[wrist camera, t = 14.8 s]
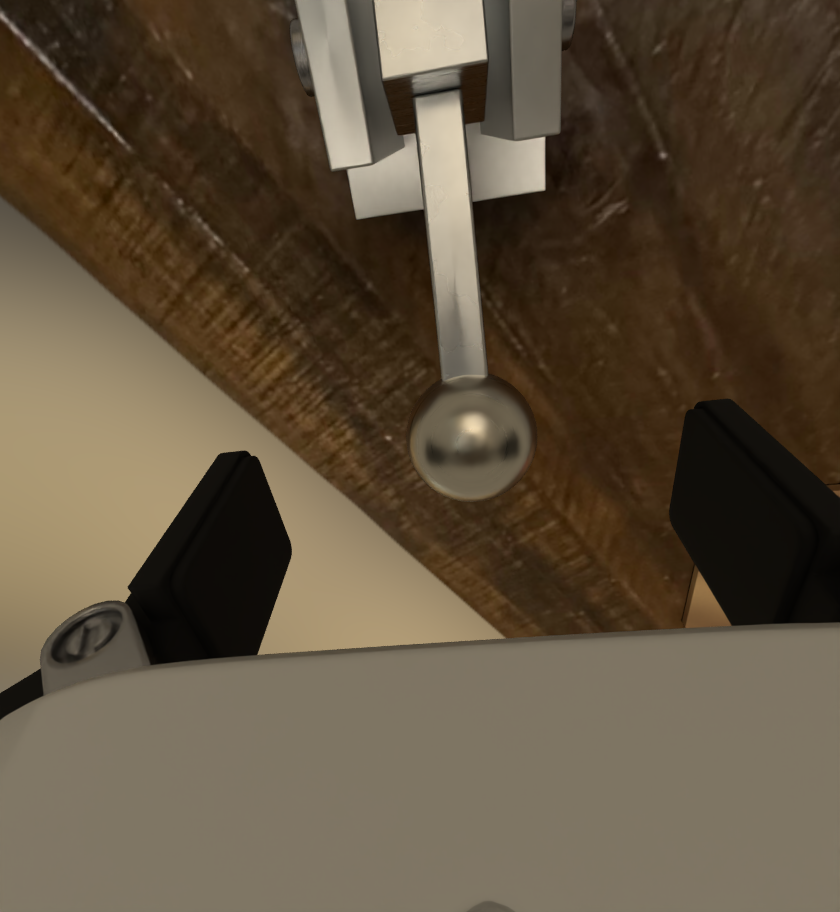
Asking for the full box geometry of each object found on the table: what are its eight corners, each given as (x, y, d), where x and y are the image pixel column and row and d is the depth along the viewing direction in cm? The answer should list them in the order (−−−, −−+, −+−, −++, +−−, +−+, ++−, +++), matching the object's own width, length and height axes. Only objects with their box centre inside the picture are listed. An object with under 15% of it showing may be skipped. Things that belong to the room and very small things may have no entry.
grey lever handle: (533, 480, 14) (552, 511, 11) (420, 491, 14) (406, 523, 11) (494, 4, 12) (503, -128, 9) (366, 29, 12) (332, -90, 9)
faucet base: (541, 187, 21) (625, 240, 11) (359, 216, 22) (294, 287, 12) (538, -118, 16) (684, -484, 7) (306, -66, 17) (125, -321, 7)
